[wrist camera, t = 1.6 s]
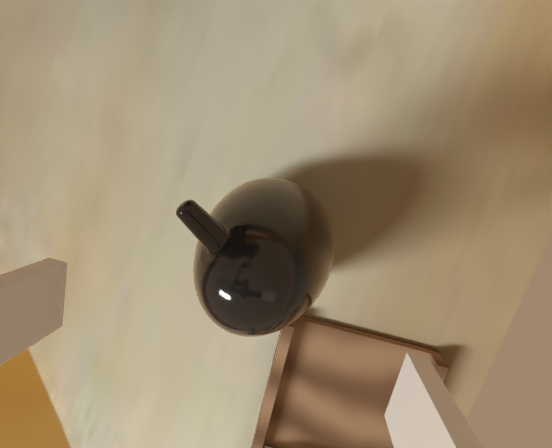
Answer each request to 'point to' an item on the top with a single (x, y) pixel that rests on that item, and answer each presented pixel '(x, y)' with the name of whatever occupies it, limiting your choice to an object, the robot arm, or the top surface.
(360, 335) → the brown wooden tray
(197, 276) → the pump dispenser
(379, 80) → the top surface
